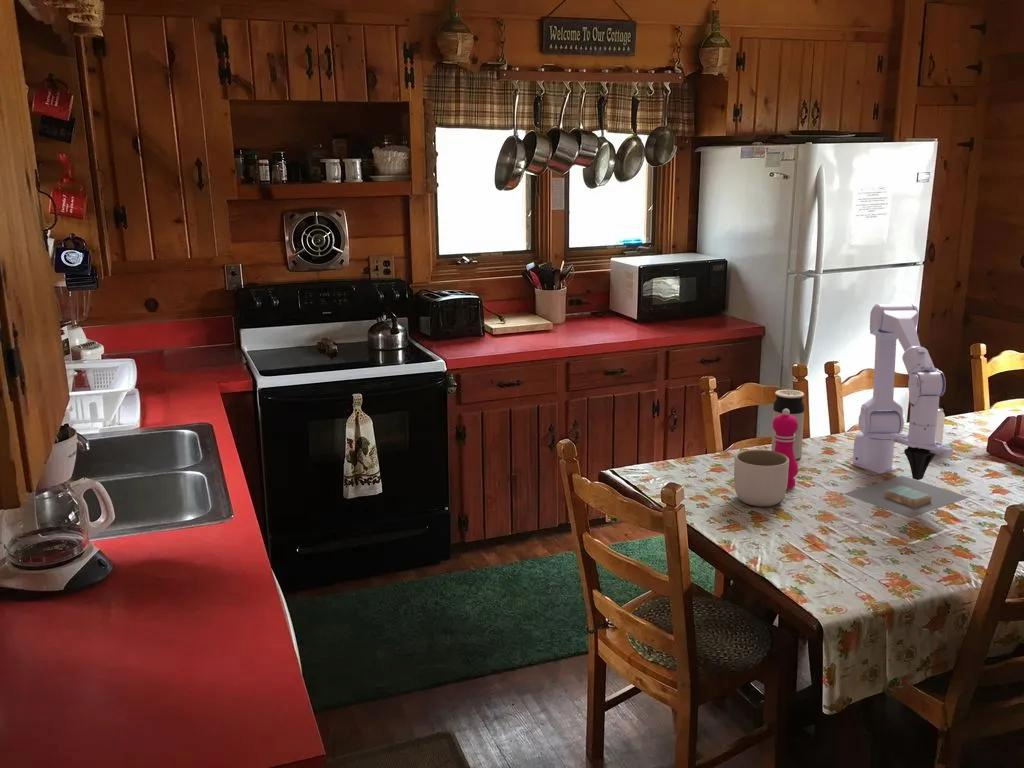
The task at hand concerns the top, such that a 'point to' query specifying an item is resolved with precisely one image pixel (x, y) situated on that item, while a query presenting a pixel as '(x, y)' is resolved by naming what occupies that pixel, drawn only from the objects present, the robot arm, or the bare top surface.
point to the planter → (760, 477)
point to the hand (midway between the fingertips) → (917, 478)
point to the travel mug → (796, 408)
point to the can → (940, 426)
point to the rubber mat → (877, 497)
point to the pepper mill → (786, 441)
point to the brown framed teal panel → (908, 496)
